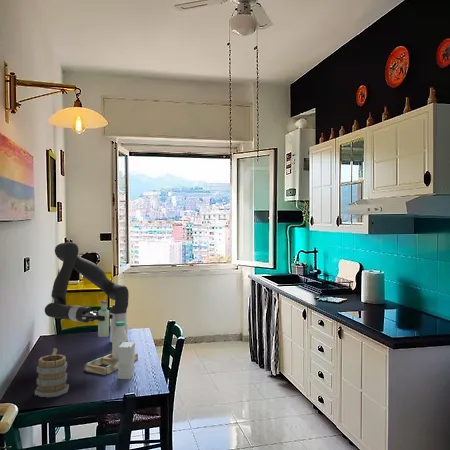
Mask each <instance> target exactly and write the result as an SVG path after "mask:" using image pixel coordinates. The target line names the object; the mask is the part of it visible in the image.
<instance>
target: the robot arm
mask: <svg viewBox="0 0 450 450" xmlns="http://www.w3.org/2000/svg"><path fill="white" fill-rule="evenodd" d="M79 250H80V248H79V246H78V244H77V243H76V242H74V241H67V242H66V241H65V242H61V243H59V244H57V245H56V246H55V247H54V254H55V257H57V259H59V260H60V261H62V265H61V268H60V270H59V271H58V273H57V275H56V277H55V279H54V281H53V286H52V289H51V294H50V295H51V298H52V299H54V301H55V302H51V303H50V302H49V303H48V304H47V305H46V306H45V307H44V313H45V315H46V316H47V317H49V318H54V319H64V320H68V321H74V322H79V323H84V324H87V323H89V322H95V321H96V322H98V320H99V321H105V316H100V315H98V311H99V310H98V311H97V310H93V309H92V308H91V307H90V306H82V305H71V304H70V305H69V304H67V292H68V291H67V290H68V288H69V282H70V278H71V275H72V273H73V269H74V270H75V271H76V272H78V274H80V275H81V276H83V277H84V278H85V279H86V280H87V281H88V282H90V283H92V285H94V286H96V287H97V288H99V289H100V290H101V291H102V292H103V293H104V294H105V295H106V296H107V297H108V298H109V299H111V300H113V301H114V305H113V306H112V307H110V313H109V320H110V324H109V336H110V341H109V343H111V344H112V341H113V335H114V333H115V330H116V322H119V321H123V322H125V327H124V328H125V331H126V334H127V335H128V322H127V321H128V319H127V317H128V315H127V314H128V313H127V310H128V308H129V295H130V294H129V293H130V292H129V289H128V287H127V286H125V285H122V284H118V283H117V284H116V283H115V282H113V281H112V280H110V279H109V278H108V277H107V275H106V273H105V271H104V270H103V269H102V268H101V267H100V266H99V265H97V264H96V263H94V262H92V261H90V260H88V259H86V258H83V257H81V256H80V255H79Z"/></svg>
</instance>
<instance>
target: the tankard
mask: <svg viewBox="0 0 450 450" xmlns="http://www.w3.org/2000/svg"><path fill="white" fill-rule="evenodd" d="M66 357H67V356H66V355H63V354H58V348H56V347H53V349H52V353H51V354H49V355H44V356H41V357H40V358H39V359H38V361H37V363H38V364H37V365H36V373H37V374H38V376H37V378H36V385H37V386H36V388H35V390H34V396H37V395H38V396H37V397H40V398H42V397H46V398H56V397H60V396H61V395H62V396H63V395H65V394H67V393H68V391H69V389H70V384H68V383H67V379H68V373H67V372H66V371H67V367H68V361H66V360H67V359H66Z"/></svg>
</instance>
